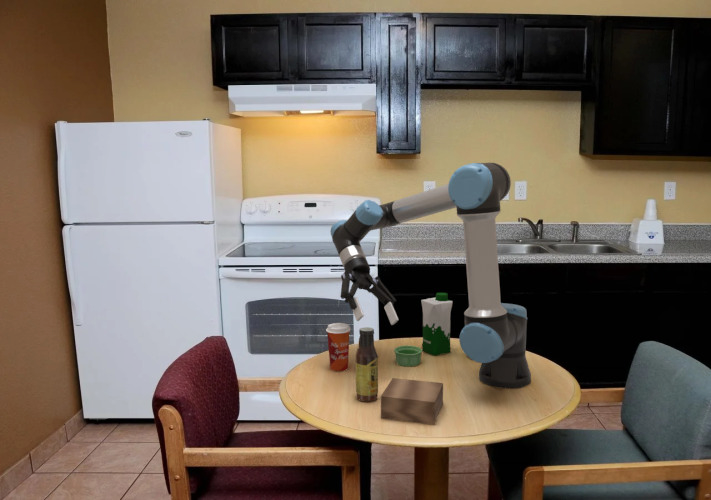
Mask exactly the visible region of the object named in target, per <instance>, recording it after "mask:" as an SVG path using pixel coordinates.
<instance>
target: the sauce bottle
mask: <svg viewBox="0 0 711 500" xmlns="http://www.w3.org/2000/svg"><path fill="white" fill-rule="evenodd" d="M358 333H359V337H360V346H359V345H358V348H357V349H356V351H355V352H356V353H355V394H356V398H357V400H359V401H361V402H373V401H376V400H377V399H378V395H379V394H378V393H379V355H378V352H377V350H376V348H375V341H374V342H373V335H375V329H374V328H373V327H360V328H359V330H358Z"/></svg>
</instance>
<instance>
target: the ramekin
mask: <svg viewBox="0 0 711 500" xmlns="http://www.w3.org/2000/svg"><path fill="white" fill-rule="evenodd" d="M393 351H394V357H395V363H396V364H397V365H399V366H401V367H415V366H418V365H420V364H421V360H422V359H421V358H422V353H423V350H422V348H421V347H419V346H417V345H400V346H396V347H395V348H394V350H393Z"/></svg>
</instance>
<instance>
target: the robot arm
mask: <svg viewBox="0 0 711 500" xmlns="http://www.w3.org/2000/svg"><path fill="white" fill-rule="evenodd" d="M511 181H512V180H511V176H510V174H509V172H508V171H507V170H506V168H505V167H503V165H501V164H498V163H496V162H473V163H467V164H464V165H462V166H460V167H459V168H457V169H456V170H454V172H453V173H452V175H451V176H450V178H449V181H448V183H447V184H444V185H441V186H437V187H435V188H431V189H428V190H425V191H422V192H419V193H416V194H411V195H409V196H407V197H403V198H400V199H397V200H394V201H390V202H386V203H383V204H378V203H377V202H376V201H374V200H370V199H366V200H364V201H363V202H362V203H361V204H360V205H358V206H357V208H356V209H355V210H354V212H353V213H352V214H351V215H350V216H349V218H348V219H345V220H344V219H343V220H339V221H337V222H336V223H334V224H333V225H332V226H331V227H330V236H331V240H332V243H333V245H334V246H335V249H336V251H337V254H338V257H339V260H340V261H341V264H342V267H343V270H344V272H343V273H342V274H341V276H340V278H341V281H342V282H341V287H340V288H341V290H340V298H341V300H344V302H345V303H346V304H348V305H349V307H350V309H351V310H352V313H353V315H354V317H355V320H356V322H360V320H362V318H364V316H365V315H364V312H363V309H362V307H361V304H360V301H359V299H358V296H355V295H356V293H357V291H358V290H364V291H367V292H368V293H369V294H372V295H373V296H374V297H375V298H376V299H377V300H379V301H380V302H381V303H382V304H383V305H384V307H383V308H384V310H385V313H386V315H387V318H388V321H389V323H390V325H391V326H393V325H396V323H398V321H399V317H398V315H397V312H396V309H395V306H394V304H395V303H396V302H397V299H396V297H394V295H393V294H392V293H391V292H390V291H389V289H388V288H387V287H386V286H385V285H384V283H383V282H382V281H381V280H382V279H381V278H380V277H379V276H375V277H372V275H371V268H370V267H371V266H370V265H369V262H368V260H367V257H366V254H365V253H364V250H363V248H362V246H361V243H360V242H361V241H362V240H363V239H364V238H365V237H366V236H367V235H368V234H369V232H371V231H374V230H379V229H380V230H381V229H385V228H391V227H395V226H397V225H399V224H402V223H407V222H410V221H414V220H416V219H417V220H418V219H421V218H423V217H428V216H432V215H435V214H438V213H443V212H445V211H448V210H452V209H456V215H457V217H458V218H459V219H460V220H462V222H463V224H462V225H463V236H464V237H463V238H464V251H465V265H466V266H465V267H466V279H467V293H468V294H467V295H468V308H467V309H466V310H465V311H464V312H463V315H464V326H463V328H462V329H461V331H460V334H459V345H460V349H461V350H462V352H463V354H464V355H466V356H467V357H468V358H469V359H470V360H472V361H473V362H476V363H480V365H479V366H480V367H479V368H478V369H479V370H478V379H479V381H480V382H482V383H483V384H485V385H487V386H491V387H494V388H498V389H512V390H513V389H521V388H524V387H528V386H529V385H530V384H531V382H532V381H531V379H532V373H531V370H530V367H529V363H528V360H527V355H526V354H527V353H526V349H527V348H526V345H527V327H528V326H527V325H528V317H527V316H528V315H527V308H526V307H524V306H522V305H519V304H513V303H503V302H501V287H500V271H499V253H498V243H497V242H498V241H497V226H496V225H497V224H496V223H497V222H496V218H497V216H498V215H500V213H501V201H502V200H503V199H504V198H506V196H508V194H509V192H510V189H511V185H512V182H511ZM351 283H352V285H351V287H350V284H351Z"/></svg>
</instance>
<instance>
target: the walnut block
mask: <svg viewBox="0 0 711 500" xmlns="http://www.w3.org/2000/svg"><path fill="white" fill-rule="evenodd" d="M389 381H390V382H389V383H388V384H387V385H386V387H385V389H384V390H383V391H382V393H381V395H380V418H381V419H385V420H391V421H392V420H393V421H401V422H409V423H419V424H424V425H426V424H427V425H432V426H433V425H434V426H435V425H436V423H437V420H438V417H439V415H440V412H441V409H442V407H443V404H444V383H443V382H437V381H427V380H416V379H408V378H407V379H406V378H399V377H397V378H396V377H392V378H391V380H389Z"/></svg>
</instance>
